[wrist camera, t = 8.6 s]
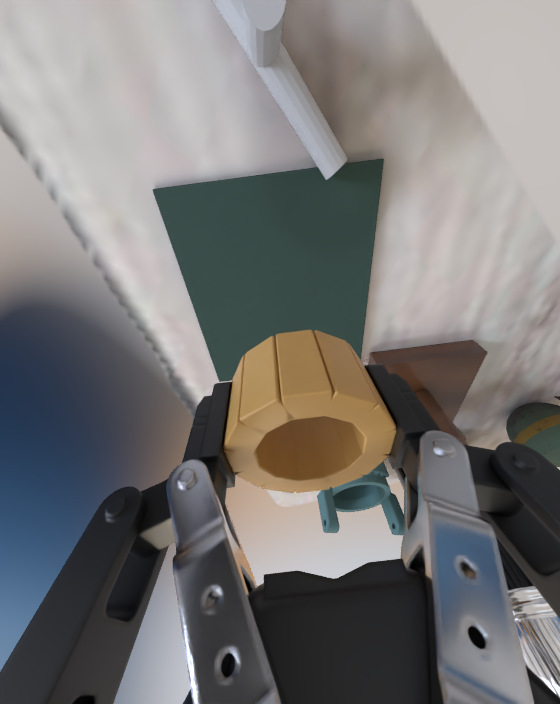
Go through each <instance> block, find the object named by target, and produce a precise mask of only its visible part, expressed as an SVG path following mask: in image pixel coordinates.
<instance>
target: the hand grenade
mask: <svg viewBox="0 0 560 704" xmlns="http://www.w3.org/2000/svg"><path fill="white" fill-rule="evenodd" d="M555 398H557V399H559V400H560V397H556V396H555ZM506 431H507V433H508V436H509V439H510V440H511V442H514V443H519V444H522V445H525V446H527V447H530V448H532V449H534V450H535V451H537V452H538V453H540V454H541V455H542V456H544V457H545V458H546V459H547V460H548V461H550V462H551V463H552V464H553V465H554V466H555V467H560V406H558V405H554V404H548V403H532V404H527V405H524V406H521V407H519V408H517V409H516V410H515V411H513V412H512V413H511V414H510V416H509V418H508V420H507V425H506Z"/></svg>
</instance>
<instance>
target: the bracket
mask: <svg viewBox="0 0 560 704" xmlns="http://www.w3.org/2000/svg"><path fill="white" fill-rule="evenodd" d="M388 476H389V474H388V472H387V470H386V467H385V465H384V463H383V462H381V463H380V464H379V465H378V466H377V467H376V468H374V469H373V470H372V471H371V472H370V473H368V474H367V475H363V477H361V478H358V479H356V480H353V481H350V482H348V483H345V484H343V485H340V486H337V487H335V488H332V487H330V489H326V490H321V492H320V493H319V494H318V495H317V498H318V503H319V509H320V514H321V520H322V526H323V531H324V532H325V533H337V532H338V531H339V522H338V518H337V513H336V511H341V512H355V511H361V510H365V509H369V508H372V507H375V506H377V505H379V504H381V505H382V507H383V510H384V513H385V516H386V518H387V521H388V524H389V527H390V529H391V532H392V534H394V535H404V514H403V512H402V510H401V507H400V505H399V502H398V500H397V497H396V496H395V495H394V494H392V493H391V491H390V488H389V485H388V483H387V480H386V478H385V477H388Z"/></svg>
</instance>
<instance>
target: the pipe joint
mask: <svg viewBox="0 0 560 704" xmlns="http://www.w3.org/2000/svg"><path fill="white" fill-rule="evenodd" d="M212 1H213V2H214V4H215V6H216V7H217V9H218V10H219V12H220V13H221V15H222V17H223V18H224V20H225V21H226V23H227V24H228V26H229V28H230V29H231V31H232V32H233V34H234V36H235V37H236V39H237V40H238V42H239V43H240V45H241V47H242V48H243V50H244V51H245V53H246V54H247V56H248V58H249V59H250V61H251V62H252V64H253V65H254V67H255V69H256V70H257V72H258V73H259V75H260V77H261V78H262V80H263V81H264V83H265V84H266V86H267V88H268V89H269V91H270V92H271V94H272V95H273V97H274V99H275V100H276V102H277V103H278V105H279V106H280V108H281V110H282V111H283V113H284V114H285V116H286V118H287V119H288V121H289V122H290V124H291V125H292V127H293V129H294V130H295V132H296V133H297V135H298V136H299V138H300V140H301V141H302V143H303V144H304V146H305V148H306V149H307V151H308V152H309V154H310V155H311V157H312V159H313V160H314V162H315V163H316V165H317V166H318V168H319V170H320V171H321V173H322V174H323V176H324V177H325V179H326V180H327V179H328V178H330V177H331V176H332V175H333V174H335V173H336V172H337V171H338V170H339V169H340V168H341V167H342V166H343V165H344V163H345V162H346V161H347V159H348V158H347V157H346V155H345V153H344V151H343V149H342V148H341V146H340V144H339V142H338V141H337V139H336V137H335V135H334V134H333V132H332V130H331V128H330V127H329V125H328V123H327V121H326V119H325V118H324V116H323V114H322V112H321V111H320V109H319V107H318V105H317V104H316V102H315V100H314V98H313V96H312V95H311V93H310V91H309V89H308V88H307V86H306V84H305V82H304V81H303V79H302V77H301V75H300V73H299V72H298V70H297V68H296V66H295V65H294V63H293V61H292V59H291V58H290V56H289V54H288V52H287V51H286V49H285V47H284V45H283V43H282V42H281V37H282V30H283V22H284V15H285V7H286V0H212Z"/></svg>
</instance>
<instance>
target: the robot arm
mask: <svg viewBox="0 0 560 704" xmlns="http://www.w3.org/2000/svg"><path fill="white" fill-rule="evenodd" d="M365 368H366V370H367V372H368V374H369V376H370V378H371V379H372V381H373V383H374V385H375V387H376V389H377V391H378V392H379V394H380V396H381V398H382V400H383V402H384V404H385V405H386V407H387V409H388V411H389V413H390V415H391V417H392V418H393V420H394V422H395V424H396V430H397V431H396V435H395V438H394V442H393V445H392V449H391V452H390V453H389V457H388V459H389V461H390V463H391V466H392V468H393V469H395V468H403V470H404V472H405V474H406V477H405V481H404V535H403V541H402V547H401V559H395V560H387V561H378V562H370V563H367V564H365V565H363V566H361V567H359V568H357V569H355V570H353V571H351V572H349V573H347V574H345V575H343V576H341V577H339V578H337V579H332V578H327V577H323V576H319V575H314V574H310V573H305V572H301V571H291V572H282V573H275V574H266V575H264V583H263V584H261V585H259V586H258V587H257V585H256V582H255V579H254V577H253V573H252V571H251V568H250V567H249V563H248V561H247V559H246V557H245V554H244V552H243V549H242V546H241V544H240V541H239V538H238V535H237V532H236V530H235V527H234V524H233V521H232V518H231V516H230V513H229V510H228V507H227V504H226V502H225V498H226V488H230V487H234V486H235V472H233V471H232V469H231V466H230V464H229V462H228V460H227V457H226V455H225V453H224V448H223V445H224V438H225V430H226V423H227V416H228V408H229V401H230V394H231V386H232V382H225V383H217V384H215V385H214V388H213V393H212V396H205V397H204V398H203V399H202V401H201V402H200V403H199V405H198V406H197V410H196V413H195V418H194V421H193V427H192V428H191V432H190V436H189V439H188V443H187V447H186V451H185V454H184V458H183V461H182V463H181V464H180V465H179V466H177V467H176V468H175V469H174V470H173V472H172V473H171V474H170V476H169V478H168V479H167V480H165V481H163V482H161V483H159V484H157V485H155V486H152V487H150V488H148V489H146V490H143V491H141V492H140V491H139V490H138V489H136V488H134V487H124V488H121V489H119V490H117V491H115V492H113V493H112V494H111V495H110V496H108V497H107V498H106V499H105V500H104V501H103V502H102V504H101V505H100V506H99V508H98V510H97V511H96V513H95V515H94V516H93V518H92V520H91V521H90V523H89V525H88V526H87V528H86V530H85V531H84V533H83V535H82V536H81V538H80V540H79V541H78V543H77V545H76V546H75V548H74V550H73V551H72V553H71V555H70V556H69V558H68V560H67V561H66V563H65V565H64V566H63V568H62V570H61V571H60V573H59V575H58V576H57V578H56V580H55V581H54V583H53V585H52V586H51V588H50V590H49V591H48V593H47V595H46V597H45V598H44V600H43V602H42V603H41V605H40V606H39V608H38V610H37V611H36V613H35V615H34V616H33V618H32V620H31V621H30V623H29V625H28V626H27V628H26V630H25V632H24V633H23V635H22V637H21V638H20V640H19V641H18V643H17V645H16V647H15V648H14V650H13V652H12V653H11V655H10V657H9V658H8V660H7V662H6V663H5V665H4V667H3V668H2V670H1V672H0V704H113V703H114V700H115V697H116V694H117V691H118V688H119V686H120V683H121V680H122V677H123V674H124V671H125V669H126V666H127V663H128V660H129V657H130V654H131V652H132V649H133V646H134V643H135V640H136V637H137V635H138V632H139V629H140V626H141V623H142V620H143V618H144V615H145V612H146V609H147V606H148V603H149V600H150V597H151V595H152V592H153V589H154V586H155V584H156V581H157V577H158V575H159V572H160V569H161V567H162V564H163V561H164V558H165V555H166V552H167V550H168V547H169V545H170V544H172V543H174V542H175V543H176V555H175V556H174V558H173V573H174V580H175V587H176V594H177V600H178V606H179V613H180V620H181V626H182V633H183V639H184V646H185V652H186V659H187V666H188V672H189V679H190V685H191V689H190V691H189V693H188V695H187V697H186V699H185V701H184V703H183V704H560V697H559V696H558V695H557V694H556V693H555V692H553V691H552V690H551V689H550V688H549V687H548V686H547V685H546V684H545V683H544V682H543V681H542V680H541V679H540V678H539V677H538V676H537V675H536V674H535V673H534V672H533V671H532V670H531V669H530V668H528V667H527V666H526V665H525V661H524V657H523V652H522V648H521V644H520V639H519V635H518V631H517V626H516V622H515V618H514V613H513V609H512V605H511V600H510V596H509V592H508V587H507V583H506V579H505V574H504V570H503V566H502V561H501V557H500V553H499V548H498V544H497V540H496V537H497V539H498V540H499V541H500V542H501V544H502V545H503V546H504V548H505V549H506V550H507V551H508V553H509V554H510V555H511V557H512V558H513V559H514V560H515V562H516V563H517V564H518V566H519V567H520V568H521V569H522V571H523V572H524V573H525V575H526V576H527V577H528V579H529V580H530V581H531V582H532V584H533V585H534V586H535V588H536V589H537V590H538V591H539V593H540V594H541V595H542V597H543V598H544V599H545V600H546V602H547V603H548V604H549V606H550V607H551V608H552V609H553V611H554V612H555V613H556V615H557V616H558V617H559V619H560V470H559V469H558V468H557V467H555V466H554V465H553V464H552V463H551V462H550V461H548V460H547V459H546V458H545V457H544V456H542V455H541V454H540V453H538V452H537V451H535V450H534V449H532V448H530V447H527V446H525V445H522V444H519V443H514V442H505V443H502V444H500V445H499V446H498V447H497V448H496V450H490V449H484V448H478V447H472V446H467V445H463V444H462V443H461V442H460V441H459V440H458V439H457V438H455V437H454V436H452V435H450V434H448V433H445V432H442V431H441V430H440V428H439V427H438V425H437V424H436V423H435V421H434V420H433V418H432V417H431V416H430V414H429V413H428V411H427V410H426V408H425V407H424V406H423V404H422V403H421V401H420V400H418V397H417V396H416V394H415V393H414V392H413V391H412V388H411V387H410V386H409V384H408V383H407V381H406V380H404V379H403V378H402V377H400V376H399V375H397V374H396V373H394V374H389V372H388V371H387V369H386V368H385V366H384V365H383V364H373V365H365Z"/></svg>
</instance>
